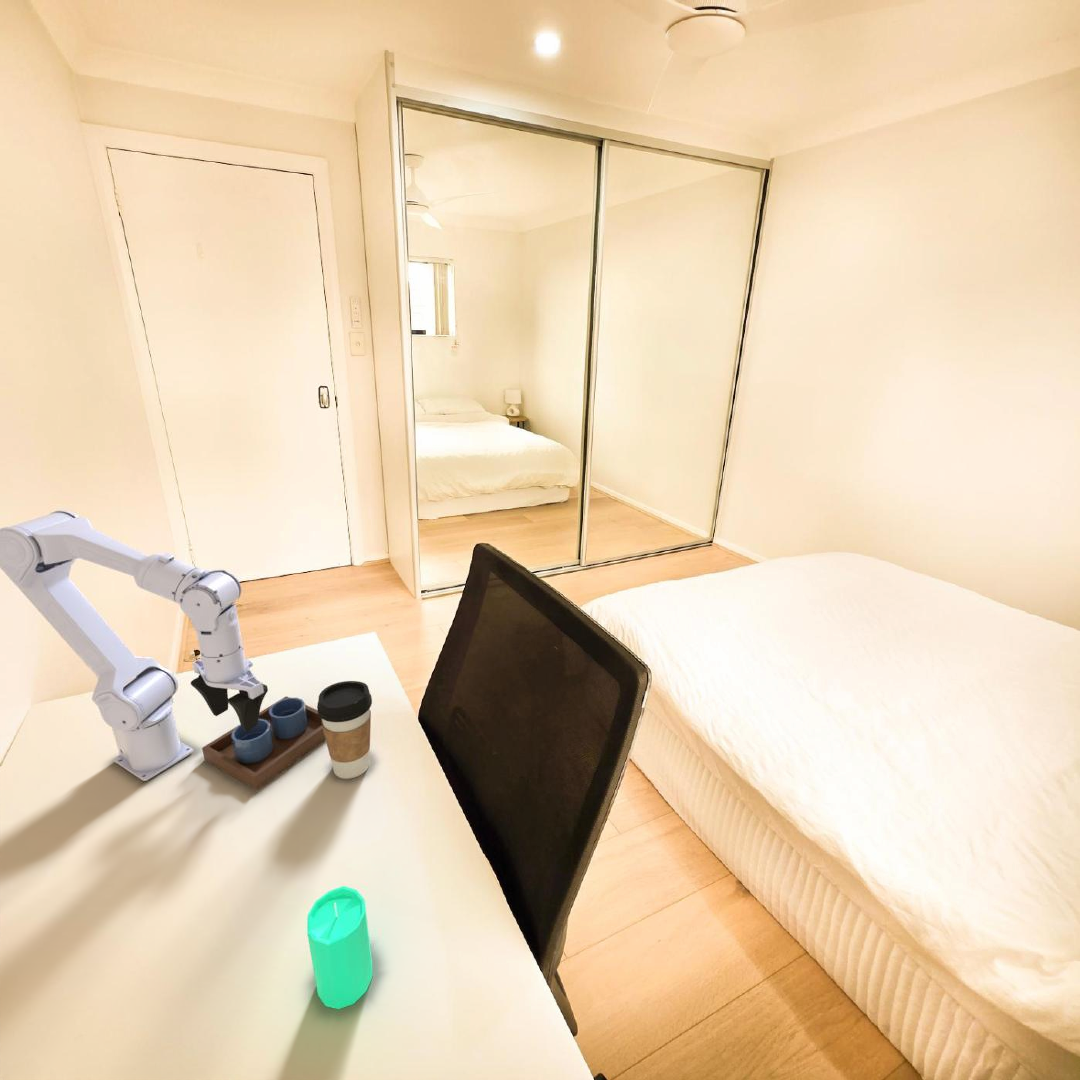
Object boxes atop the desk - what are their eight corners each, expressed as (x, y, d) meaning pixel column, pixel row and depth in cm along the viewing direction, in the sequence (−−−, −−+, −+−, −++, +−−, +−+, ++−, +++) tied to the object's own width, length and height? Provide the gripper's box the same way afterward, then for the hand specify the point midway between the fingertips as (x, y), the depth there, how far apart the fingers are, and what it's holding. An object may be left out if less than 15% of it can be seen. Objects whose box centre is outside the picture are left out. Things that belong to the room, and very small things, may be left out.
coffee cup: (362, 788, 86) (353, 712, 81) (315, 779, 87) (304, 703, 82) (386, 753, 94) (380, 680, 89) (342, 745, 95) (334, 673, 90)
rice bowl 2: (265, 738, 95) (261, 715, 94) (286, 717, 101) (282, 695, 99) (295, 743, 94) (291, 720, 93) (314, 721, 100) (311, 699, 98)
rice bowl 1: (228, 758, 90) (223, 734, 89) (259, 737, 95) (255, 714, 94) (250, 770, 88) (245, 746, 86) (281, 749, 93) (277, 725, 91)
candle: (326, 952, 63) (314, 878, 59) (378, 948, 63) (370, 875, 59) (309, 1011, 57) (295, 934, 53) (366, 1007, 58) (357, 930, 54)
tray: (204, 760, 91) (201, 747, 90) (287, 706, 105) (286, 695, 104) (256, 790, 85) (253, 777, 84) (337, 729, 99) (336, 718, 98)
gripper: (275, 648, 83) (286, 720, 88) (217, 625, 89) (230, 693, 94) (233, 670, 77) (247, 746, 82) (173, 644, 83) (190, 716, 88)
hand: (235, 719), depth 87 cm, fingers open, 7 cm apart
